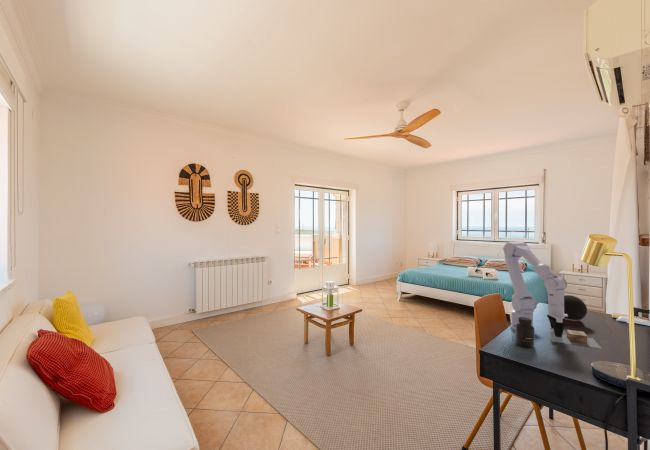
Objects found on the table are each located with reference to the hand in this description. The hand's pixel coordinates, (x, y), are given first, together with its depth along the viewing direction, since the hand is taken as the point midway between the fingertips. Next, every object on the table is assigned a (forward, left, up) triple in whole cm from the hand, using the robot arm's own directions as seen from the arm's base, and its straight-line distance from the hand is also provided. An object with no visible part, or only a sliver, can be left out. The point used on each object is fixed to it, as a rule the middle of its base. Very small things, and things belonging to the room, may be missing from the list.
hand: (556, 333), depth 134 cm
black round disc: (+11, +31, -4) cm, 33 cm away
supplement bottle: (-13, -12, -4) cm, 18 cm away
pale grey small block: (0, 0, -3) cm, 3 cm away
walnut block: (+8, +4, -3) cm, 9 cm away
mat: (+8, +4, -3) cm, 10 cm away
